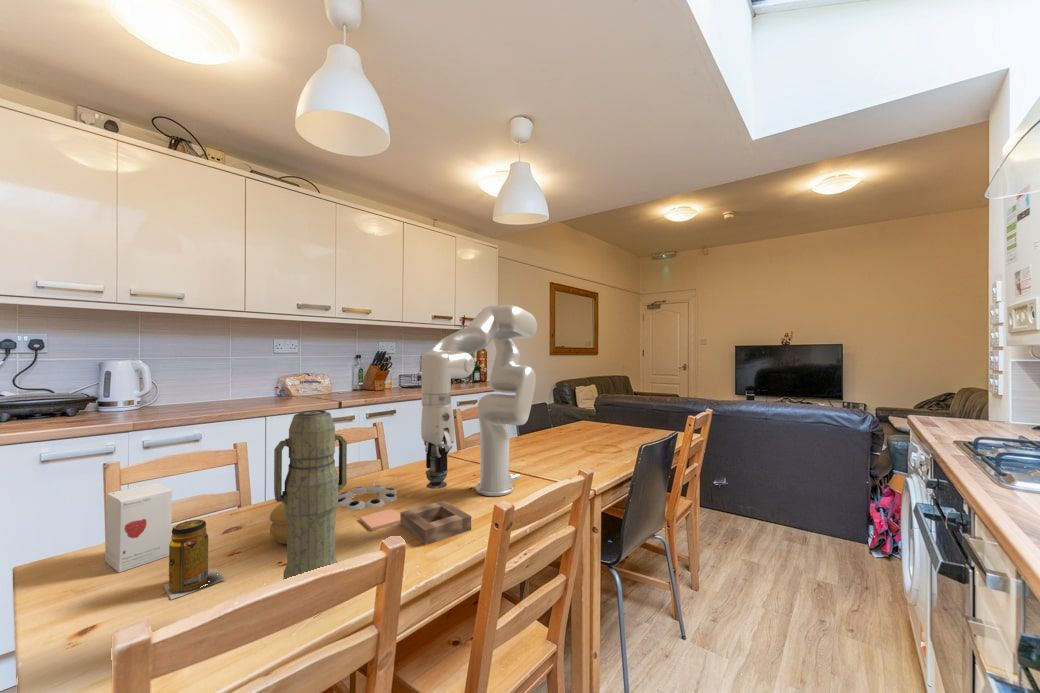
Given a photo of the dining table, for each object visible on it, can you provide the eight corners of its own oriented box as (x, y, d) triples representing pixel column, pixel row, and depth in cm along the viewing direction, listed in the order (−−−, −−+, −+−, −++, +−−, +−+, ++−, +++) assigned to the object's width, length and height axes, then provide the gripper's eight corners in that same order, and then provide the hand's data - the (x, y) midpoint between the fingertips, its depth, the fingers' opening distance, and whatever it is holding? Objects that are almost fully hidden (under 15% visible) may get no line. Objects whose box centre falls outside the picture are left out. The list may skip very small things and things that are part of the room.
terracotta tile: (391, 511, 118) (391, 508, 118) (405, 521, 111) (405, 518, 111) (359, 520, 112) (359, 517, 112) (371, 531, 105) (371, 528, 105)
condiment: (163, 586, 81) (163, 524, 81) (215, 568, 87) (215, 511, 87) (171, 600, 76) (171, 535, 76) (225, 581, 82) (226, 521, 82)
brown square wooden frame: (443, 512, 117) (443, 500, 117) (471, 529, 106) (471, 516, 106) (400, 525, 108) (400, 512, 108) (425, 545, 98) (425, 530, 98)
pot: (330, 540, 100) (330, 499, 100) (274, 556, 92) (275, 511, 92) (316, 524, 109) (316, 486, 109) (264, 537, 101) (265, 497, 101)
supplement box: (117, 574, 85) (118, 501, 85) (103, 562, 89) (104, 493, 89) (172, 555, 92) (173, 488, 92) (157, 545, 97) (157, 481, 97)
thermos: (354, 599, 76) (355, 411, 77) (284, 631, 68) (285, 418, 68) (333, 580, 82) (335, 406, 83) (267, 608, 74) (268, 413, 74)
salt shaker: (443, 490, 104) (442, 442, 104) (421, 488, 105) (421, 441, 105) (451, 482, 110) (451, 437, 110) (430, 480, 111) (430, 436, 111)
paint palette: (342, 517, 115) (342, 510, 115) (324, 497, 130) (324, 491, 130) (409, 501, 127) (409, 494, 127) (385, 484, 142) (385, 479, 142)
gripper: (466, 401, 104) (466, 474, 104) (433, 395, 116) (433, 459, 116) (439, 404, 99) (440, 480, 99) (408, 397, 111) (409, 465, 112)
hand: (436, 468), depth 108 cm, fingers closed on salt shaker, 4 cm apart
